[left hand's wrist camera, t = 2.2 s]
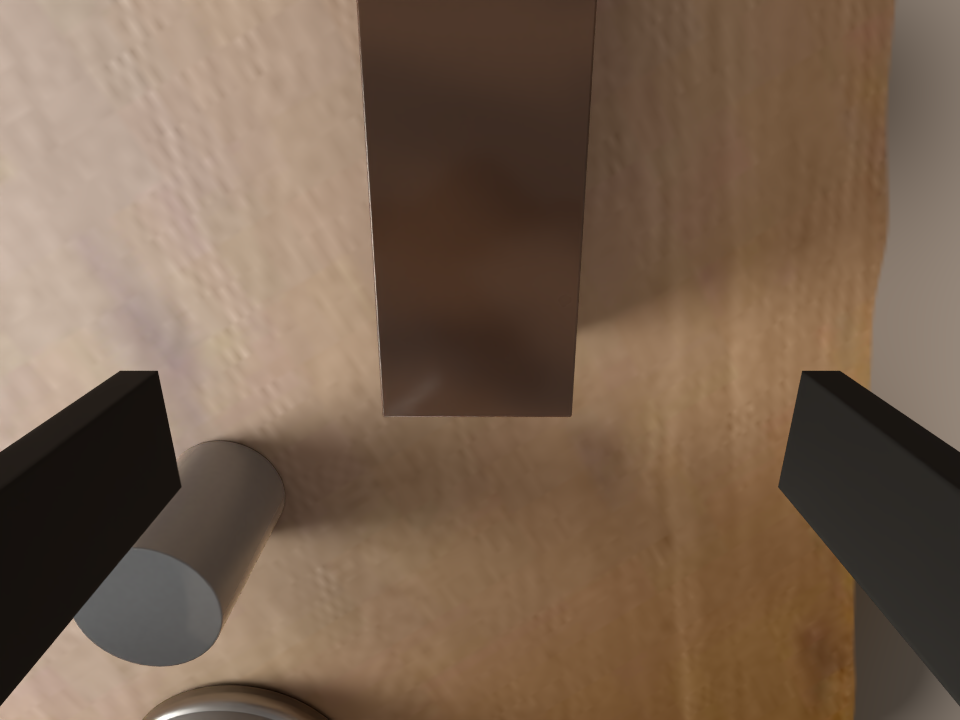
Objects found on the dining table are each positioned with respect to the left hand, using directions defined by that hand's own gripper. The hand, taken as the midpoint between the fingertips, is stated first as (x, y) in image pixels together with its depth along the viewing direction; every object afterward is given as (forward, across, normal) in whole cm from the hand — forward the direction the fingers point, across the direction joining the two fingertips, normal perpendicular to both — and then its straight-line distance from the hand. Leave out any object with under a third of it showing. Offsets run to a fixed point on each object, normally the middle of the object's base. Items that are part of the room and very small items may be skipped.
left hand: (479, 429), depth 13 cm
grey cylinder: (+18, +14, +13) cm, 26 cm away
